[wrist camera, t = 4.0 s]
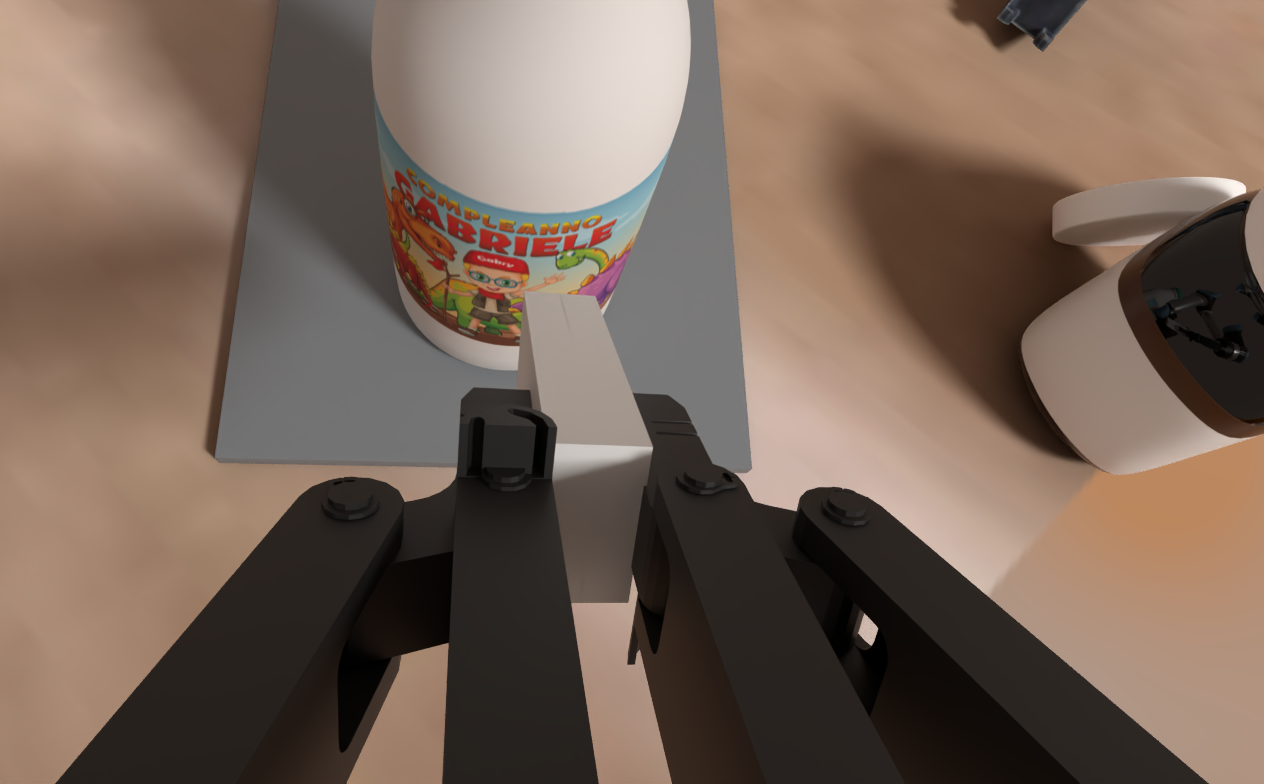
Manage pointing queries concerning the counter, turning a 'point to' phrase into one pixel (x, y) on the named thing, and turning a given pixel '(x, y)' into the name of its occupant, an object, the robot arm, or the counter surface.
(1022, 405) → the counter surface
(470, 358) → the milk bottle
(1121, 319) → the spread jar
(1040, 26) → the gun
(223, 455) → the rubber mat
